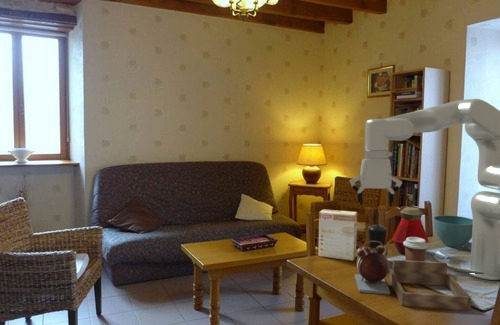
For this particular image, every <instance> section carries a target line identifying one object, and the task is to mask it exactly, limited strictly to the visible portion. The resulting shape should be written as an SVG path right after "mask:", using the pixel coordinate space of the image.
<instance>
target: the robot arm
mask: <svg viewBox="0 0 500 325" xmlns="http://www.w3.org/2000/svg"><path fill="white" fill-rule="evenodd" d="M458 125H464V130H465V132H466V134H467V135H468V136H469V137H470V138H471V139H472V140H473V141H474V142H475V143H476V146H477V148H478V163H477V164H478V165H477V166H478V167H477V183H478V184H479V185H480V186H482V187H484V188H487V189H491V190H495V191H500V110H499V109H498V108H496V107H495V106H493V105H492V104H490V103H489V102H486V101H485V100H483V99H480V98H470V99H469V98H468V99H460V100H459V99H458V100H454V101H450V102H446V103H443V104H438V105H435V106H431V107H428V108H424V109H418V110H416V111H411V112H407V113H406V112H405V113H403V114H398V115H395V116H390V117H386V118H373V119H367V120H366V122H365V126H364V127H365V128H364V130H365V132H364V134H365V135H364V158H362V159H361V164H360V172H359V175H358V176H355V177H354V178H351V179H349V183H350V186H351V187H352V189H353V190H354V191H355V192H356V193H357V197H356V198H357V199H356V200H357V201H356V202H357V203H359V204H358V205H360V206H363V191H364V190H365V189H372V190H373V189H375V190H376V189H381V190H385V189H386V190H387V191H388V193H387V205H388V206H389V207H391V206H392V204H393V203H394V195H395V193H396V192H397V191H398V190H400V187H401V186H402V184H403V181H402V180H400V179H398V178H396V177H394V176H392V166H391V160H390V159H389V157H392V156H393V151H389V141H400V142H401V141H407V140H409V139H410V138H411V137H412V136H413V134H414V133H415V134H418V133H419V134H421V133H424V134H425V133H432V132H436V131H437V132H438V131H441V130H444V129H448V128H452V127H456V126H458ZM358 181H359V185H360V186H359V187H357V185H356V182H358ZM392 181H393V182H395V183H396V184H395V185H394V186H393V187H392V183H393V182H392ZM470 209H471V216H472V219H473V230H472V238H471V248H470V249H471V250H470V263H469V265H468V266H466V267H469V266H470V269H471V270H474V271H479V272H483V273H484V274H475V273H469V274H468V275H470V276H472V277H475V278H478V279H482V280H487V281H488V280H489V281H499V280H500V192H494V191H487V190H482V191H478V192H476V193H475V194H474V195H473V196H472V197H471V200H470Z"/></svg>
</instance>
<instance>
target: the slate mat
mask: <svg viewBox="0 0 500 325" xmlns="http://www.w3.org/2000/svg"><path fill="white" fill-rule="evenodd" d="M362 278H363V277H362V276H361V275H360V273H358V274H357V273H355V274H354V280H355V282H356V286H357V290H358V293H361V292H362V293H363V294H365V293H366V294H376V295H377V294H379V295H380V294H381V295H391V290H390V288H389V286H388V284H387V282H386V280H385V278H384V279H383V280H382V282H383V283H381V281H379V282H370V281H366V283H364V282H365V279H363V281H361V279H362ZM362 293H361V294H362Z"/></svg>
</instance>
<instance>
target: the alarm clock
mask: <svg viewBox="0 0 500 325" xmlns="http://www.w3.org/2000/svg"><path fill="white" fill-rule="evenodd" d="M369 242H379V243H381V242H380V241H369V240H368V241H365V242H364V243H363V245H359V247H358V249H356V255H357V259H356V263H355V264H356V270H357V271H358V274H359V275H361V276H362V277H363V278H362V279H361V281H363V279H365V282H364V283H366V281H370V282H379V281H381V283H383V282H382V280H383V279H385V278H386V277H387V276H388V274H389V273H390V263H389V259H387V255H388V253H389V251H388V249H387V247H386V244H385V245H384V246H383V245H382V243H381V245H382V246H377V247H376V248H371V250H370V248H369V247H368V246H366V244H369Z"/></svg>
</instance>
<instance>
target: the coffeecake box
mask: <svg viewBox="0 0 500 325" xmlns="http://www.w3.org/2000/svg"><path fill="white" fill-rule="evenodd" d="M318 213H319V214H318V216H319V217H318V254H317V255H318V257H323V258H332V259H338V260H344V261H354V260H355V258H356V257H357V235H358V234H357V229H358V227H357V225H358V223H357V222H358V212H357V211H349V210H336V209H326V208H325V209H322V210H320V211H319V212H318Z"/></svg>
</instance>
